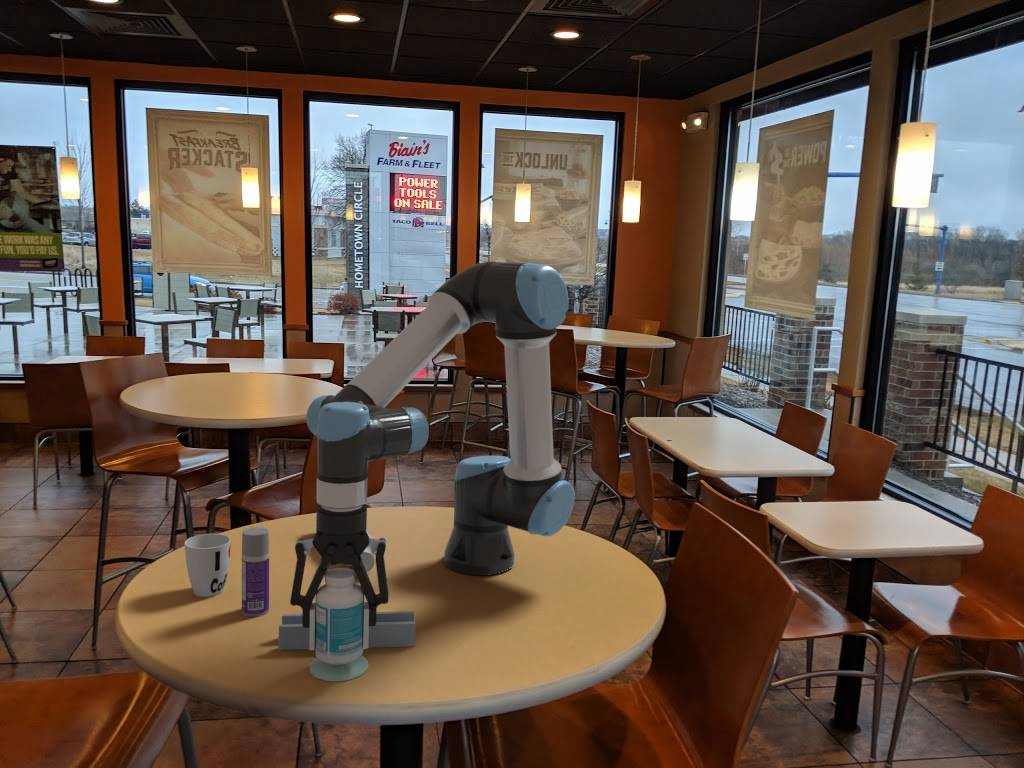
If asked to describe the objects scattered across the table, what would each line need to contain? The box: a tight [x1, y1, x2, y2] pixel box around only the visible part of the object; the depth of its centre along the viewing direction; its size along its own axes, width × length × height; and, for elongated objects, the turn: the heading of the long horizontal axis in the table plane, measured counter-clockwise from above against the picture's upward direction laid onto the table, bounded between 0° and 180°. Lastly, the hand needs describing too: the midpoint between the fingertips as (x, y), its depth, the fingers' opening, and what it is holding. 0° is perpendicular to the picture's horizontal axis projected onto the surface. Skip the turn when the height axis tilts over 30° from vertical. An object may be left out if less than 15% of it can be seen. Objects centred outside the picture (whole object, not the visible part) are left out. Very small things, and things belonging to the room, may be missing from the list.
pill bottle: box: [314, 567, 365, 665], centre depth 123 cm, size 8×7×14 cm
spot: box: [309, 655, 369, 683], centre depth 124 cm, size 9×9×1 cm
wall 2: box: [281, 610, 416, 625], centre depth 134 cm, size 22×1×4 cm, turn 99°
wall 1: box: [278, 621, 416, 651], centre depth 130 cm, size 22×1×4 cm, turn 99°
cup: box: [184, 533, 232, 598], centre depth 149 cm, size 8×8×10 cm
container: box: [241, 526, 270, 618], centre depth 141 cm, size 5×5×15 cm
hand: (339, 645), depth 124 cm, fingers closed on pill bottle, 7 cm apart
